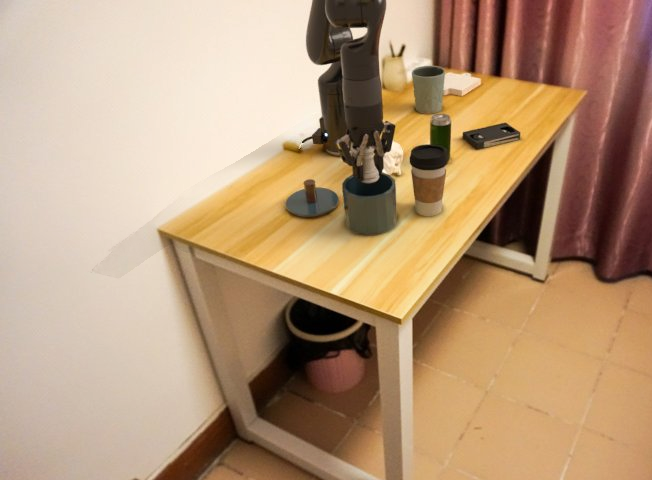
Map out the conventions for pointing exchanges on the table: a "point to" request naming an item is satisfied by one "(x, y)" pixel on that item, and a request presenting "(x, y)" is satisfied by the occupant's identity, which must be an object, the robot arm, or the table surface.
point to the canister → (370, 205)
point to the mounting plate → (459, 83)
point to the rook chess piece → (369, 166)
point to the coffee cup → (428, 177)
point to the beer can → (441, 131)
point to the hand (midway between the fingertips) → (368, 175)
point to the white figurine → (393, 159)
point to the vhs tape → (491, 136)
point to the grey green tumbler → (428, 88)
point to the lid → (311, 200)
